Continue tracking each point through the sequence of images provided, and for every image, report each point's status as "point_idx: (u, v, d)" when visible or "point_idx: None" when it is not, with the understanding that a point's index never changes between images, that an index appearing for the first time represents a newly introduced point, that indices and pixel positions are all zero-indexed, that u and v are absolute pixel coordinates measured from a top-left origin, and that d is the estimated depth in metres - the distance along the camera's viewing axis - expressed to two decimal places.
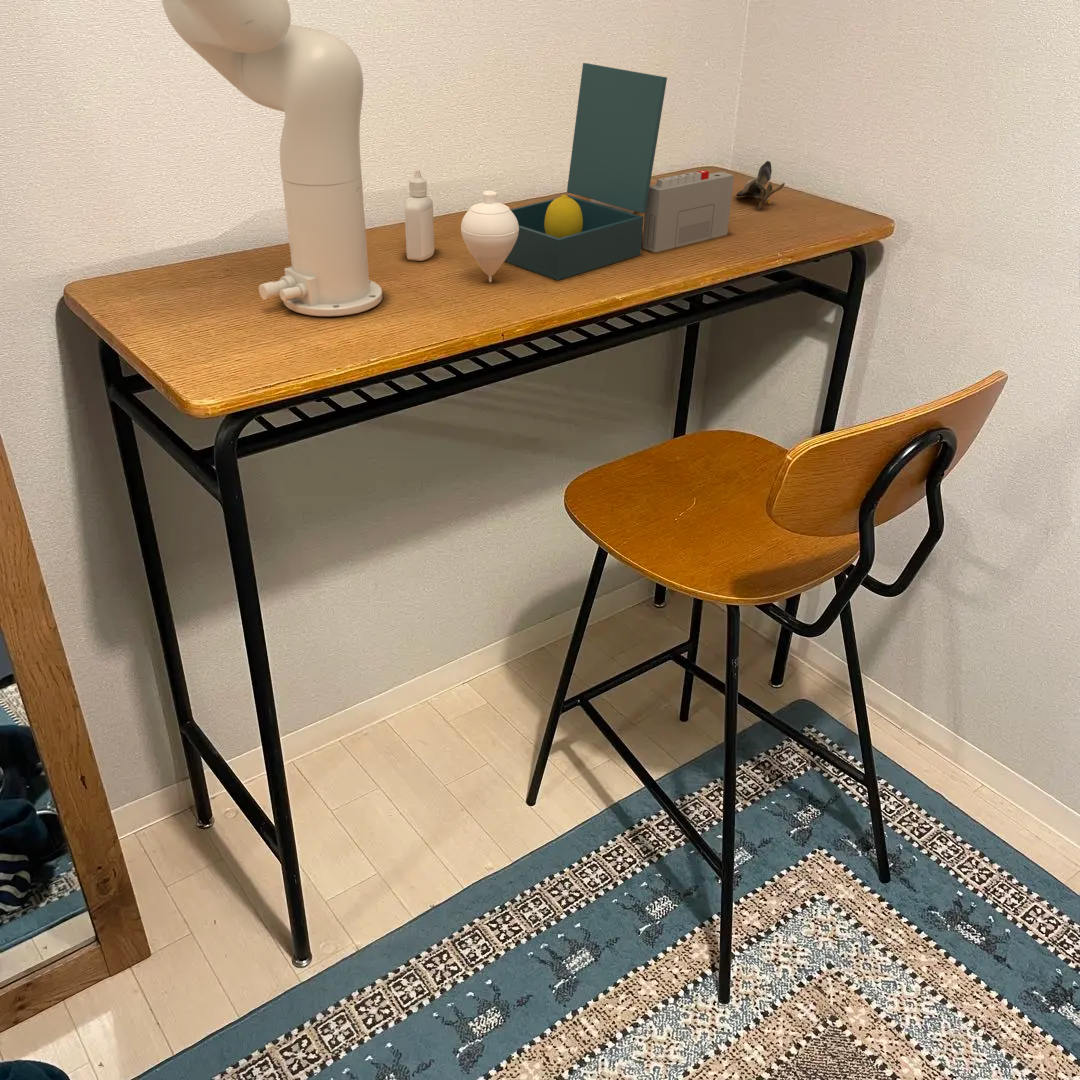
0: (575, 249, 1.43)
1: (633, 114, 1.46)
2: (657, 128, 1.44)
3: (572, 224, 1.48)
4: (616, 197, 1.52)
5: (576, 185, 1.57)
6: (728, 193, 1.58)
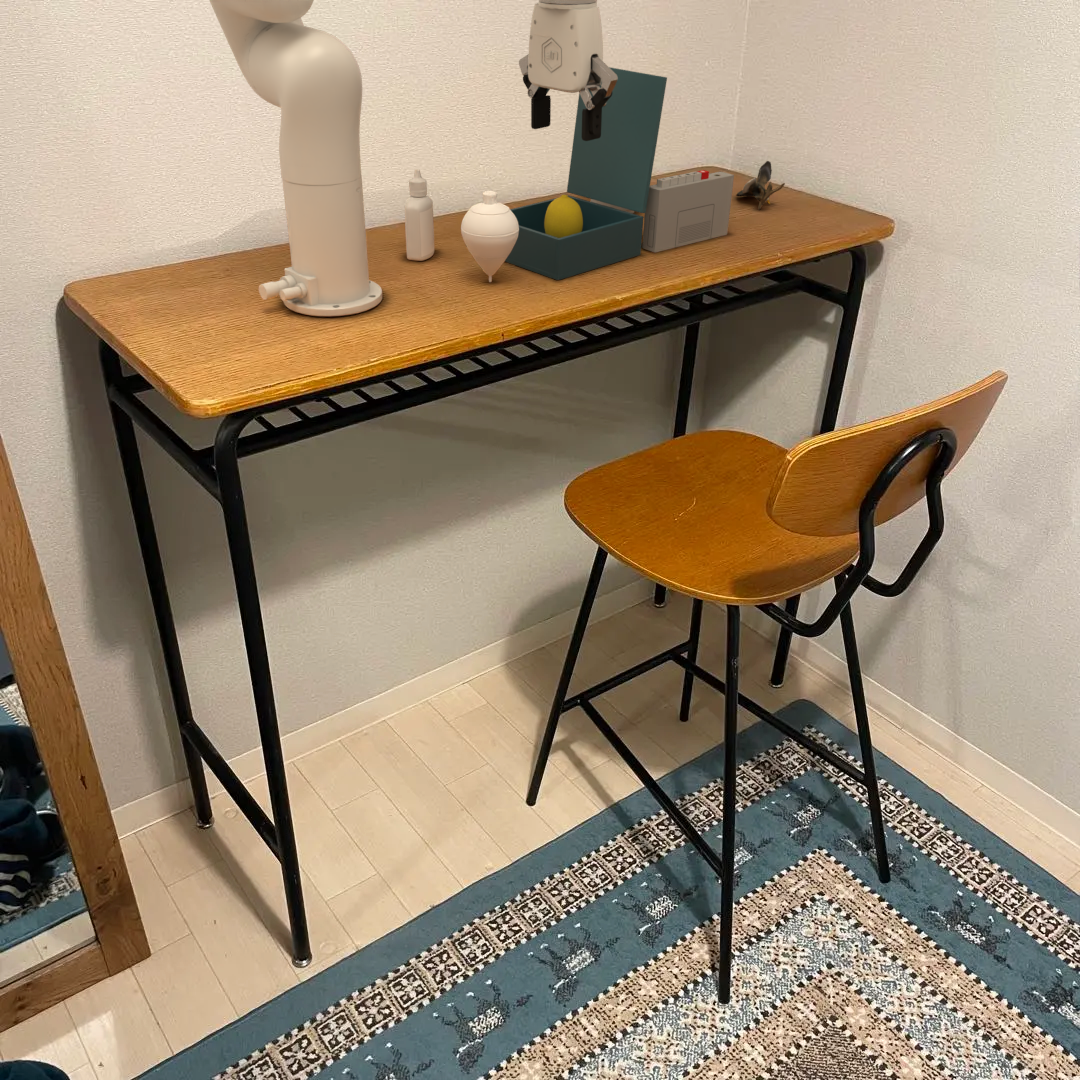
0: (575, 249, 1.43)
1: (633, 114, 1.46)
2: (657, 128, 1.44)
3: (572, 224, 1.48)
4: (616, 197, 1.52)
5: (576, 185, 1.57)
6: (728, 193, 1.58)
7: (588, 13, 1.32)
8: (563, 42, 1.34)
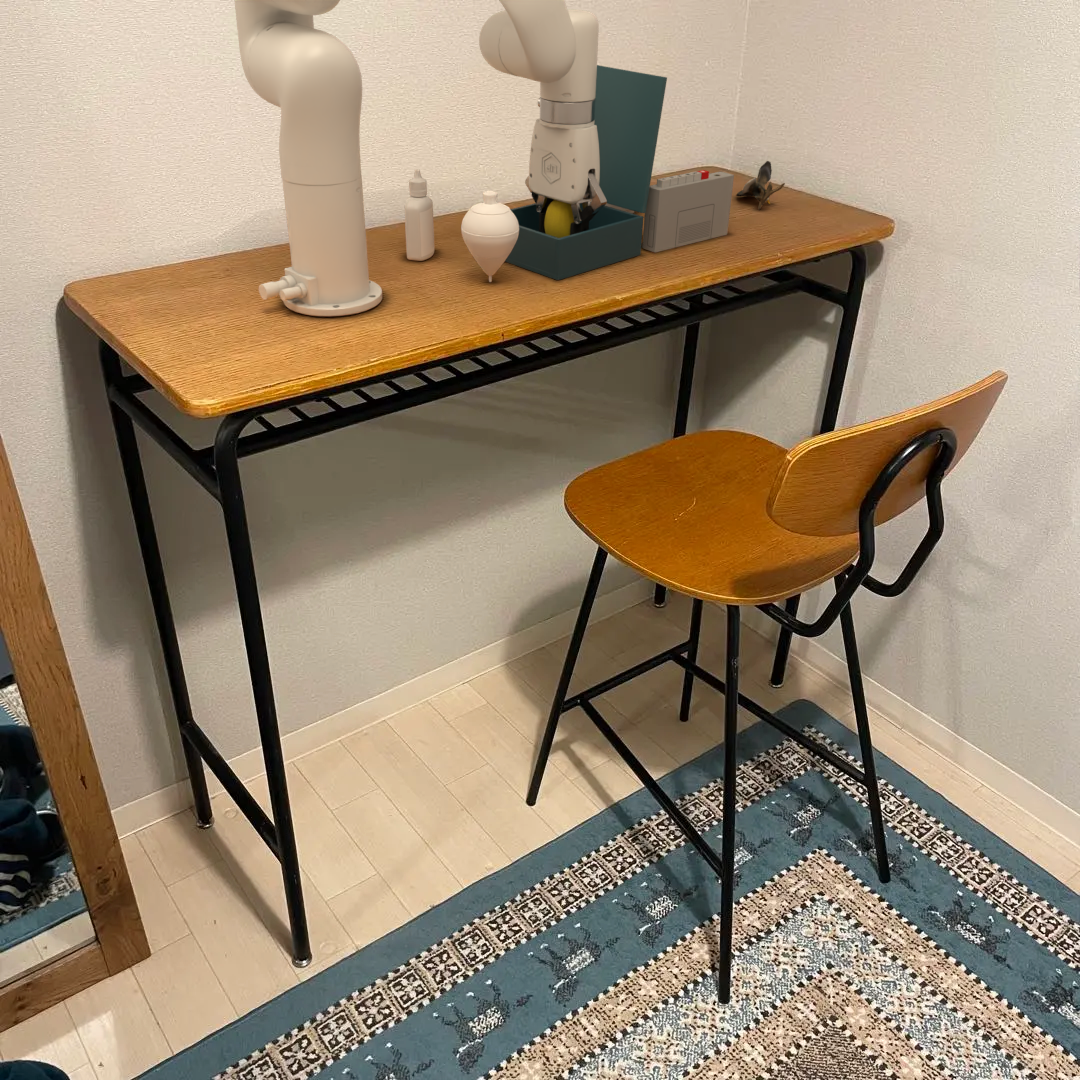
0: (575, 249, 1.43)
1: (633, 114, 1.46)
2: (657, 128, 1.44)
3: None
4: (616, 197, 1.52)
5: None
6: (728, 193, 1.58)
7: (586, 132, 1.40)
8: (562, 157, 1.42)
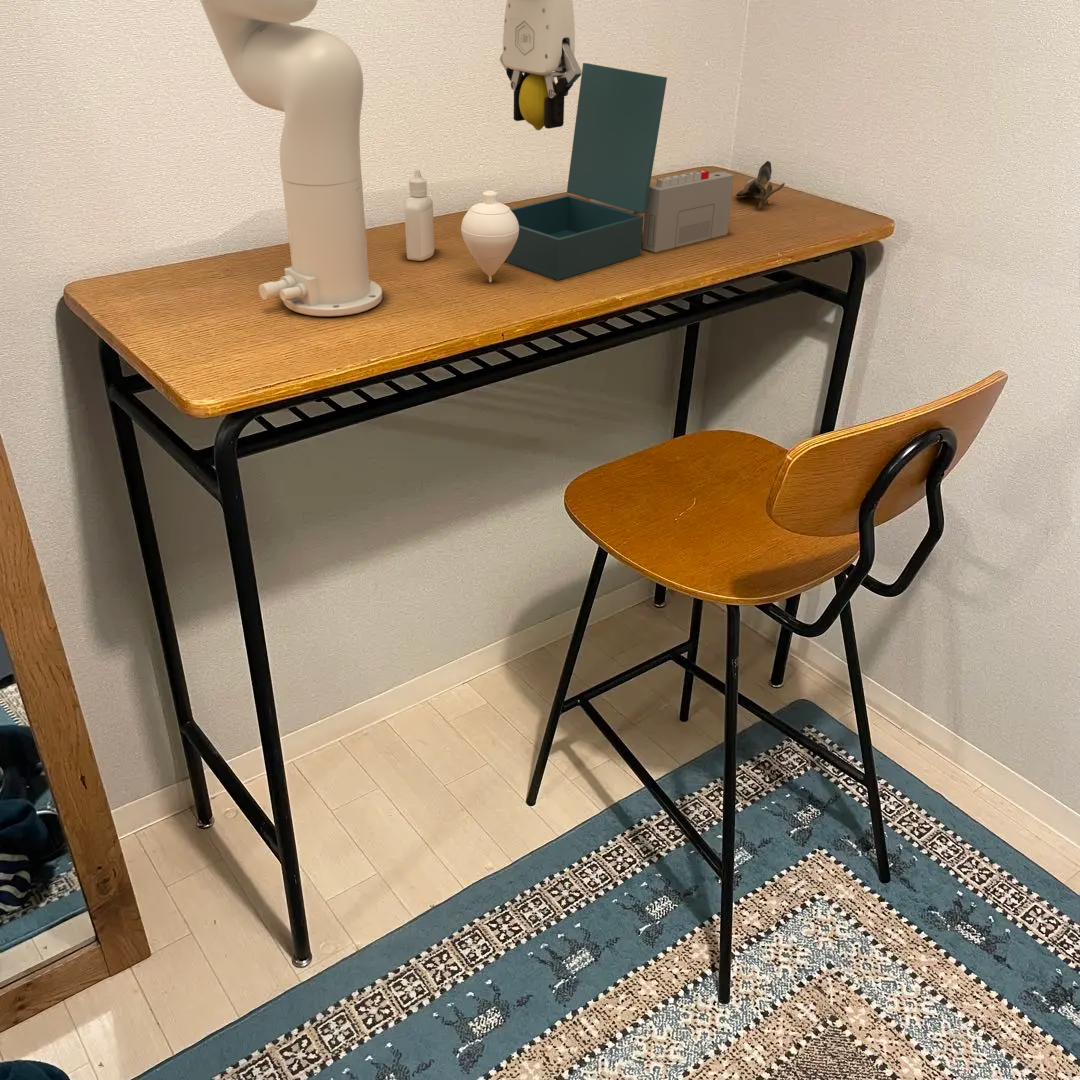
0: (575, 249, 1.43)
1: (633, 114, 1.46)
2: (657, 128, 1.44)
3: None
4: (616, 197, 1.52)
5: (576, 185, 1.57)
6: (728, 193, 1.58)
7: None
8: (535, 25, 1.37)
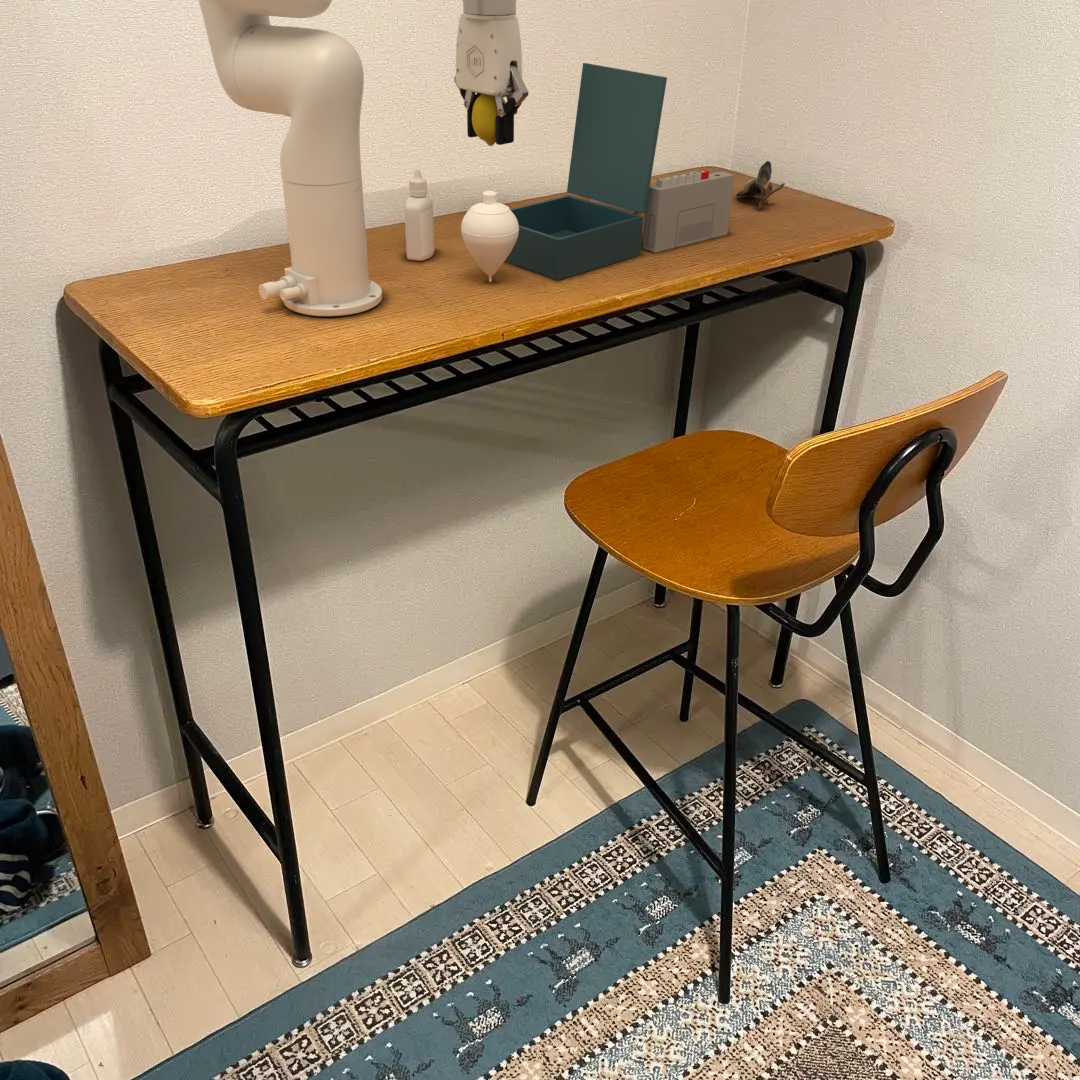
0: (575, 249, 1.43)
1: (633, 114, 1.46)
2: (657, 128, 1.44)
3: None
4: (616, 197, 1.52)
5: (576, 185, 1.57)
6: (728, 193, 1.58)
7: (507, 24, 1.45)
8: (485, 49, 1.47)
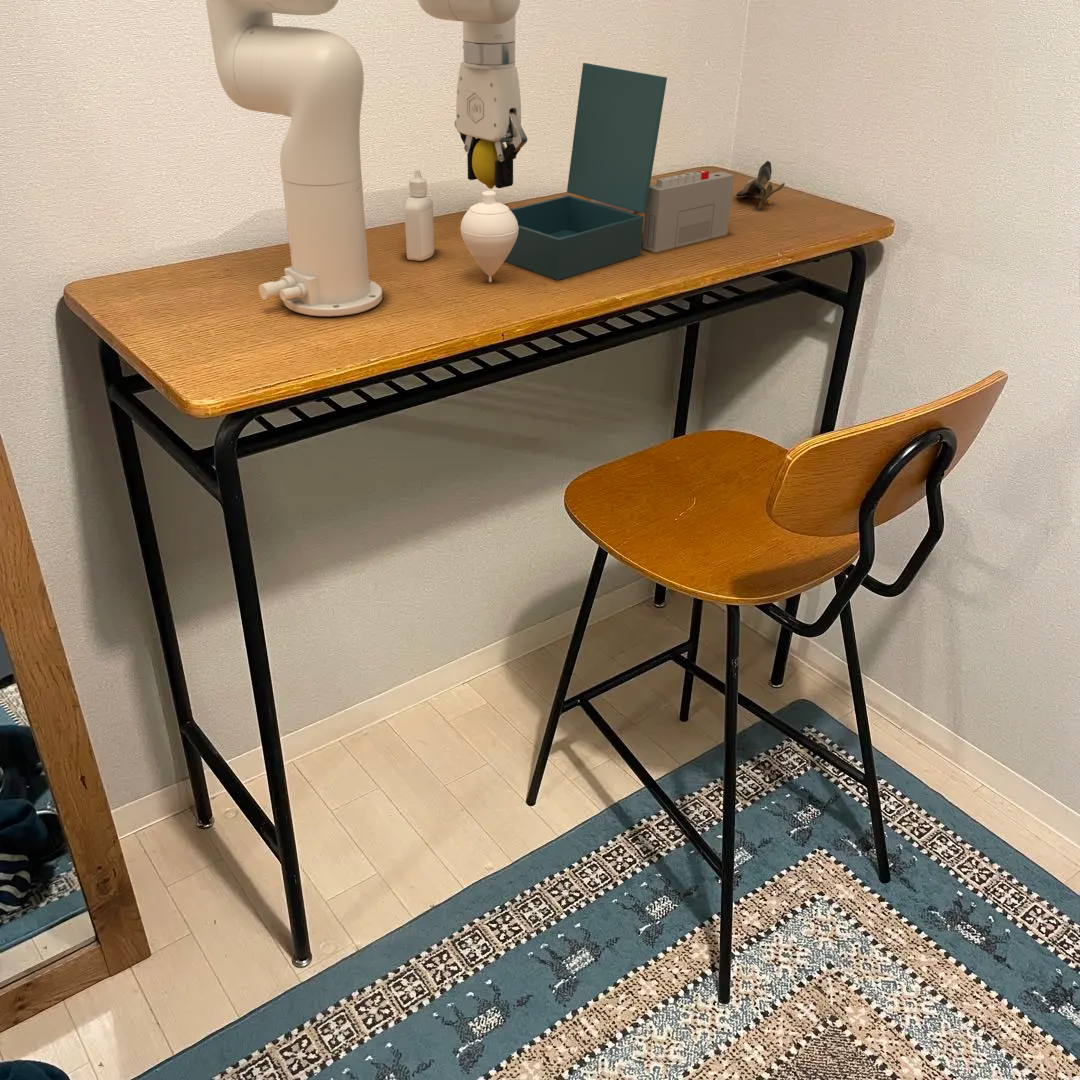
0: (575, 249, 1.43)
1: (633, 114, 1.46)
2: (657, 128, 1.44)
3: None
4: (616, 197, 1.52)
5: (576, 185, 1.57)
6: (728, 193, 1.58)
7: (506, 73, 1.49)
8: (484, 97, 1.51)
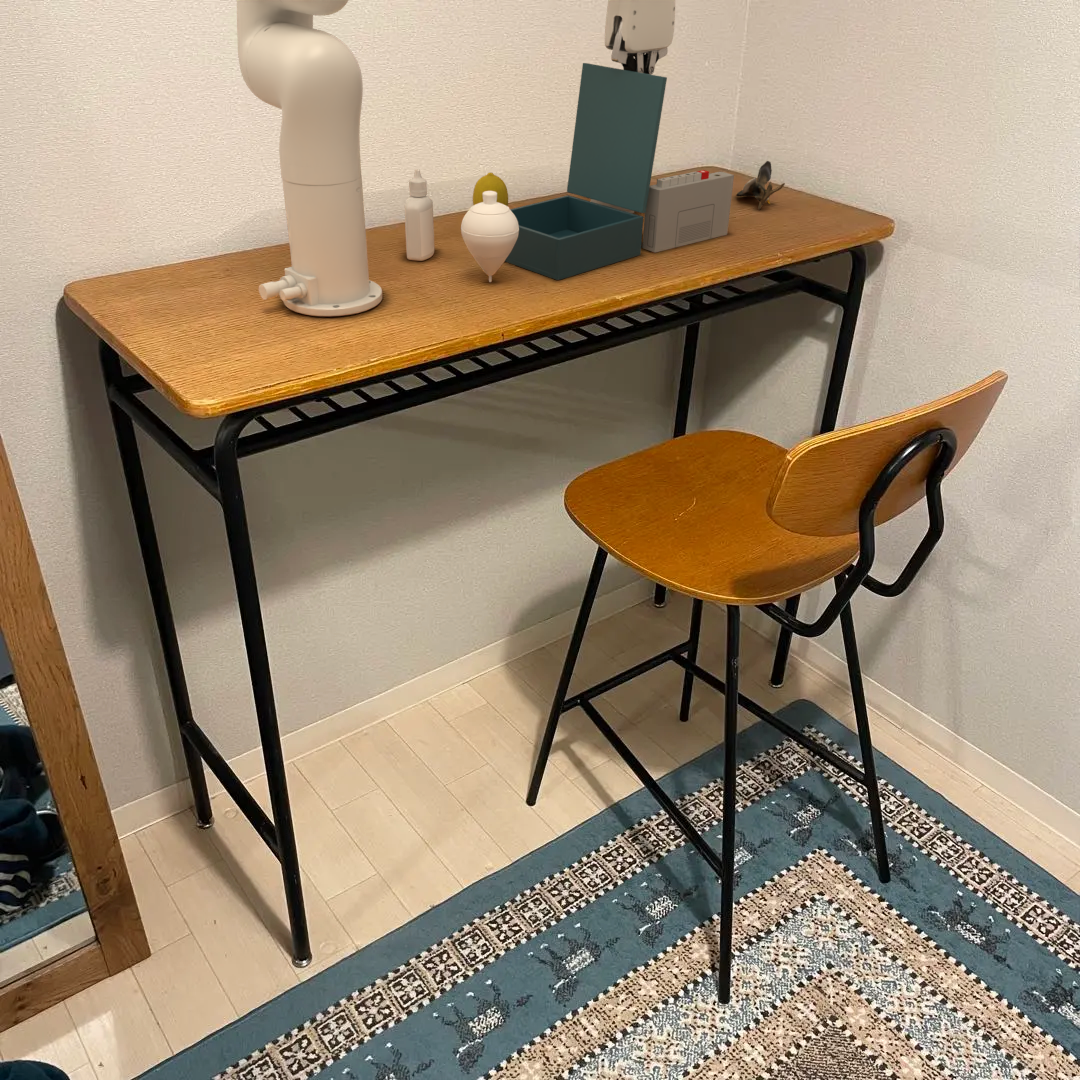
0: (575, 249, 1.43)
1: (633, 114, 1.46)
2: (656, 128, 1.44)
3: (497, 200, 1.60)
4: (616, 197, 1.52)
5: (576, 185, 1.57)
6: (728, 193, 1.58)
7: None
8: None
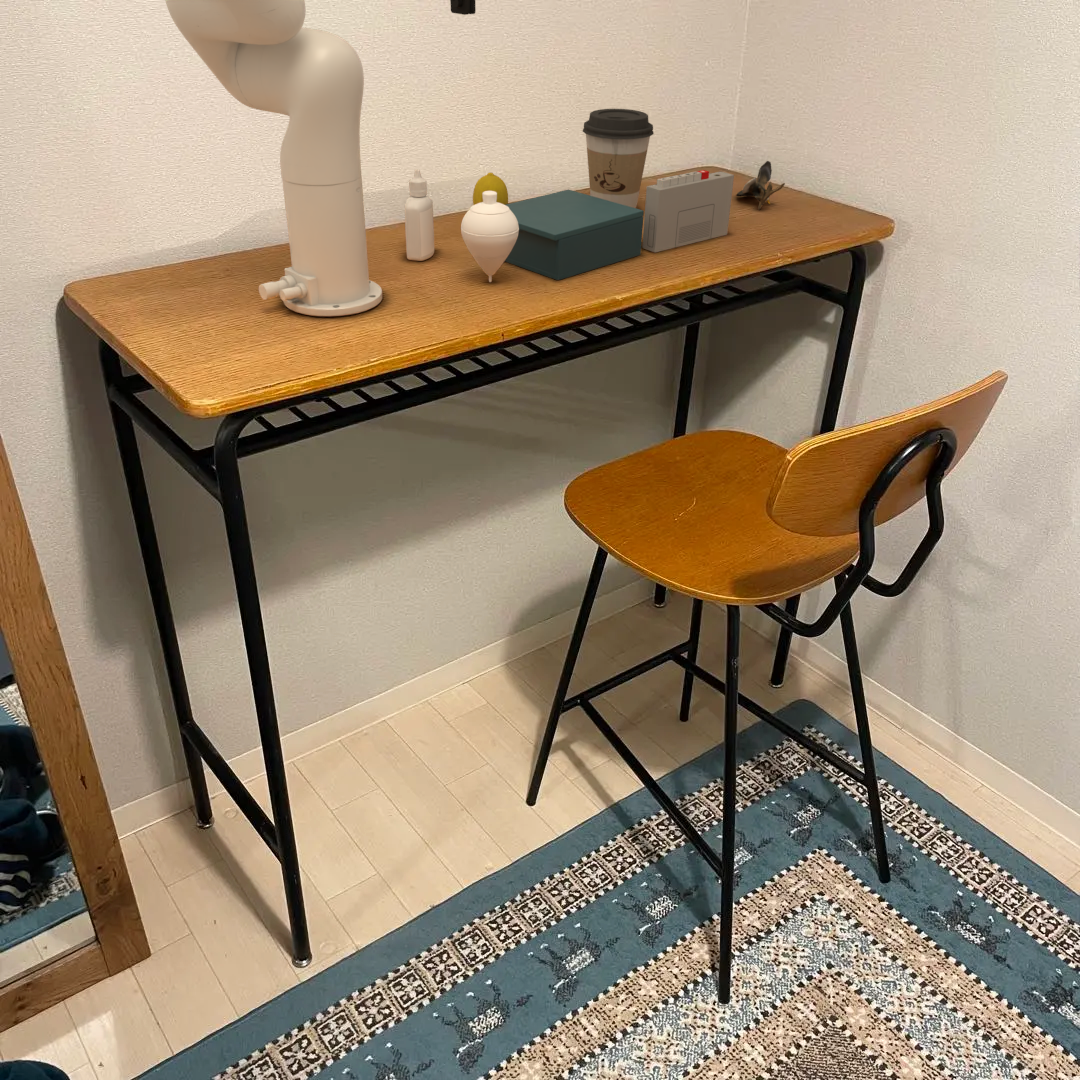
0: (575, 249, 1.43)
1: None
2: (588, 229, 1.43)
3: (497, 200, 1.60)
4: None
5: None
6: (728, 193, 1.58)
7: None
8: None
